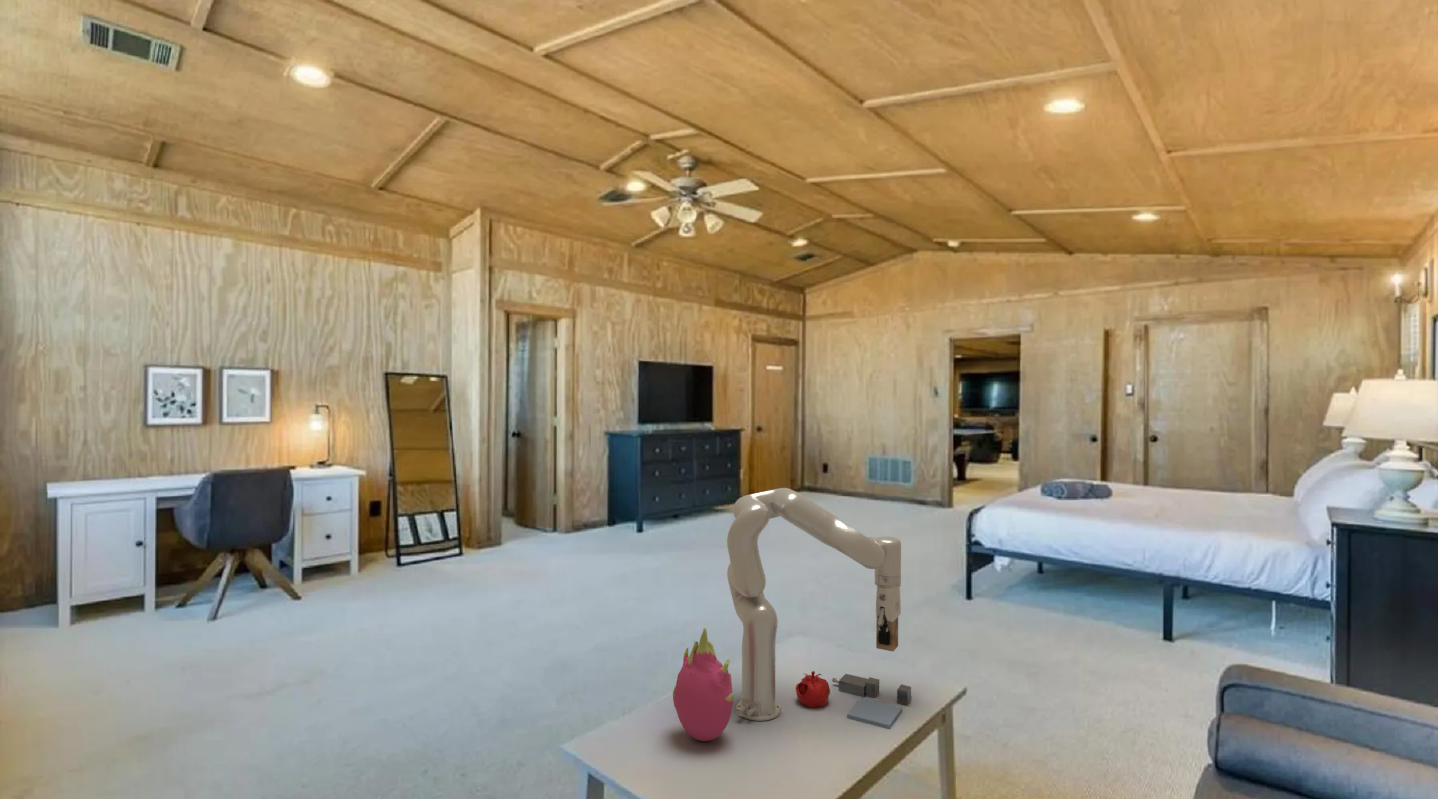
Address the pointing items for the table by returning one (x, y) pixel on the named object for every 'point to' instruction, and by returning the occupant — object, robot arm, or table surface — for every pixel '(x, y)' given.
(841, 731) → the table surface
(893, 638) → the walnut peg
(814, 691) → the pomegranate
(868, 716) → the pad
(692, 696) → the pink dragon fruit
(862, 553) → the robot arm
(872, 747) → the table surface
